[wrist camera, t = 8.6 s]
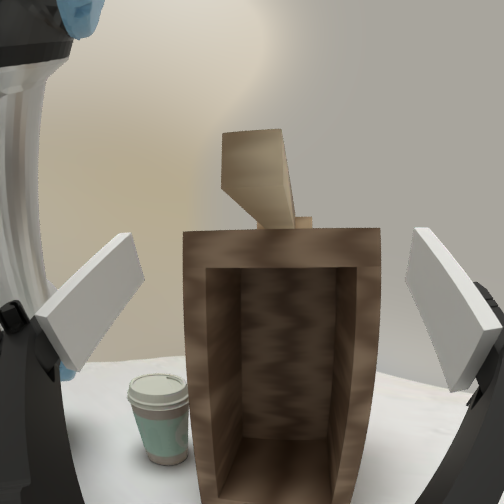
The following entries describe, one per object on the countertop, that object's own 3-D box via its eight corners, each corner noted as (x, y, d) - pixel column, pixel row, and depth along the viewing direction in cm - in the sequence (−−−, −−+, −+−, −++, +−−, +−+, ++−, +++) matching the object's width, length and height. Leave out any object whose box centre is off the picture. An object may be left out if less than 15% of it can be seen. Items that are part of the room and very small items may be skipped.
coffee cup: (189, 475, 29) (179, 400, 29) (129, 464, 29) (113, 390, 30) (202, 443, 37) (197, 374, 38) (150, 435, 38) (140, 369, 38)
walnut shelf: (201, 505, 23) (183, 213, 24) (232, 439, 39) (228, 232, 40) (346, 513, 21) (379, 209, 22) (337, 442, 36) (348, 230, 38)
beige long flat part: (177, 191, 11) (180, 138, 11) (266, 242, 38) (266, 225, 38) (332, 184, 10) (327, 127, 10) (310, 241, 37) (309, 224, 37)
